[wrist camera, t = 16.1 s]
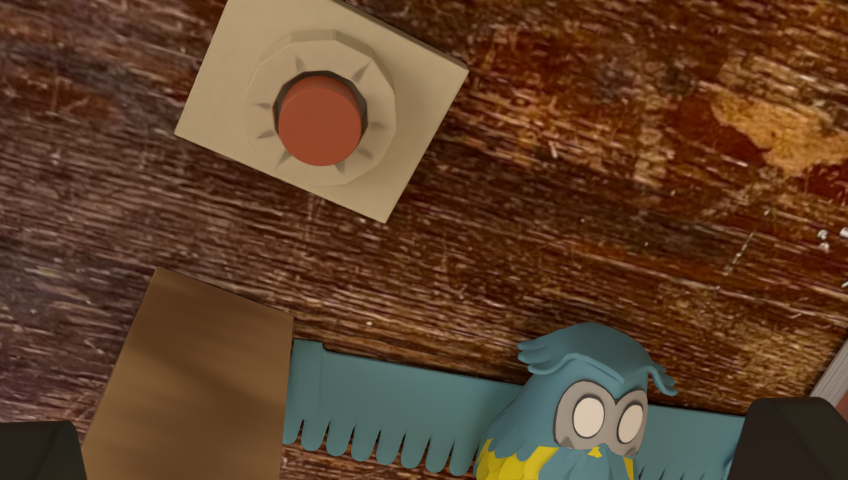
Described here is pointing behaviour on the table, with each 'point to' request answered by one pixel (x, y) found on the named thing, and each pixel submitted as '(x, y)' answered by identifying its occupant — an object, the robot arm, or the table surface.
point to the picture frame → (835, 382)
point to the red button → (320, 121)
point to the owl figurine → (513, 414)
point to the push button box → (321, 56)
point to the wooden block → (194, 389)
